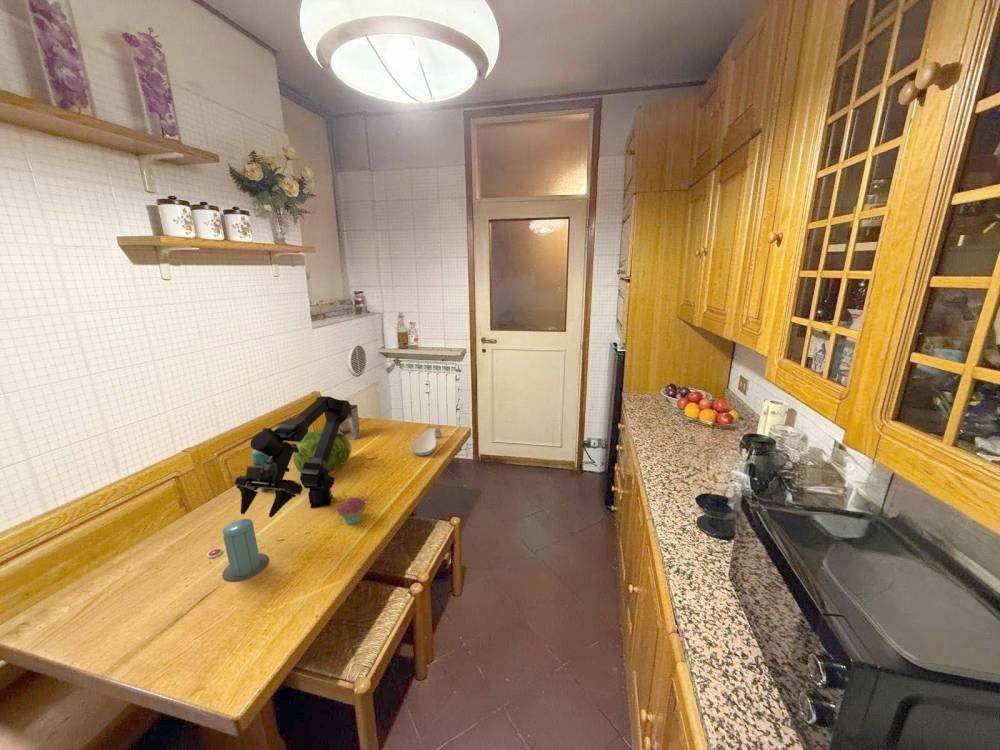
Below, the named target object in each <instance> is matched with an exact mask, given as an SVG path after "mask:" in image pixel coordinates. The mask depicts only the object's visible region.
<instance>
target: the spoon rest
mask: <svg viewBox="0 0 1000 750" xmlns="http://www.w3.org/2000/svg"><path fill="white" fill-rule="evenodd" d="M436 437H442V438H443V433H442V431H441V430H440V429H439V428H438V427H437V428H436V427H430V428H428V429H426V431H425V432H424V433H422V434H421V435H420V436H419V437H418V438H417V439H415V440H414V441H413V442H412V443H411V444H410V446H409V450H410V451H411V453H412V454H414V455H416V456H423V457H424V456H428V455H430V454H431V453H433V452H434V451H435V450H436V448H437V445H438V444H437V442H438V441H437V438H436Z"/></svg>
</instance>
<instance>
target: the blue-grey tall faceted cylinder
mask: <svg viewBox="0 0 1000 750" xmlns="http://www.w3.org/2000/svg"><path fill="white" fill-rule="evenodd" d="M222 537H223V540H224V541H223V542H224V546H225V551H226V555H227V560H228V563H229V564H228V565H230V569H231V574H232V575H234V576H243V575H246V574H249V573H252V572H253V571H255V570H256V569H257V568H258V567H259V566H260V565H261V563H260V556H259V553H260V552H259V546H258V541H257V536H256V532H255V528H254V521H252V519H249V518H243V519H238V520H235V521H233V522H231V523H229V524H227V525H226V526H224V528H223V529H222Z"/></svg>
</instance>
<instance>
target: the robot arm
mask: <svg viewBox="0 0 1000 750" xmlns="http://www.w3.org/2000/svg"><path fill="white" fill-rule="evenodd" d="M351 405H352V404H351V403H350V402H349V400H348V399H347V400H345V399H344V400H343V399H338V398H334V397H332V396H328V395H327V396H322V395H320V396H317V398H315V401H313V402H312V403H311V404H310V405H309V406H307V408H305V409H304V410H302V411H301V413H299V414H298V415H297V416H295V417H293V418H289V419H286V420H285V421H283V422H281V423H280V424H279V425H278V426H277V427H276V428H275V429H272V428H270V427H268V428H267V427H263V428H262V431H260V432H258V433H256V434H255V435H254V436H253V437H252V438H251V440H250V448H251V449H252V450H256V451H258V452H260V453H262V454H264V455H265V456H268V457H269V459H268V461H267V462H263V463H262V465H261V466H253V465H252V466H251V465H250V466H247V467H246V472H245V475H239V476H238V477H237V476H236V478H235V481H234V483H233V486H234V485H235V486H236V489H238V490H239V492H240V495H241V496H240V497H241V499H240V514H241V515H245V514H246V512H247V511H248V510H249V508H250V506H251V504H253V502H254V500H255V498H256V497H257V495H258V493H259V492H258V490H260V488H266V489H272V490H273V489H274V493H275V497H274V500H273V503H272V506H271V508H270V510H269V512H268V517H269V518H273V517H274V516H275V515H276V514H277V513H278V512H279V511H280V510H281V509H282V508H283V506H285V505H286V504H287V503H288V502H289V501H290V500H292V499H293V498H296V496H297V495H299V496H301V494H302V491H303V488H304V489H308V492H307V495H308V501H309V504H310V506H309V507H310V508H311V509H312V508H314V509H315V508H321V507H326V506H331V504H332V501H333V498H334V495H333V494H332V488H333V486H334V485H335V478H336V477H334V476H331V475H330V472H331V471H330V470H329V466H328V459H329V456H330V453H331V450H332V447H333V444H334V441H335V439H336V436H337V433H338V430H339V427H340V424H341V423H342V422H344V421H345V420H346V419H347V417H348V415H349V413H350V411H351ZM323 414H324V418H325V423H324V426H323V428H322V429H323V432H322V434H321V437H320V440H319V443H318V446H317V448H316V451H315V454H314V457H313V459H312V460H311V461H310V462H305V463H304V466H303V469H302V471H301V472H300V475H299V480H300V482H301V483H299V482H298V481H295V480H292V479H284V476H285V475H286V473H289V472H290V470H291V469H290V468H289V464H290V461H291V459H292V458H293V453H298V452H299V450H298V448H297V445H296V443H297V442H300V441H301V440H302V439H303V438H304V437H305V436H306V434H307V433H309V427H311V426H312V424H313V423H315V421H317V420H318V418H320V417H321V416H323ZM290 442H292V443H290ZM293 442H295V443H293ZM329 471H330V472H329ZM257 479H259V480H257ZM264 484H266V485H264ZM272 484H273V485H274V486H273V485H272Z"/></svg>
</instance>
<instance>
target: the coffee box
mask: <svg viewBox="0 0 1000 750" xmlns="http://www.w3.org/2000/svg"><path fill="white" fill-rule="evenodd" d="M350 405H351V411H350V413H349V415H348V417H347V419H346V420H345V421H344V422H342V423H341V424H340V427H339V430H338V432H339V433H341V434H343V435H344V436H345V437H346V438H347V439H348V440H350V439H355V440H356V439H358V438H359V437H360V436H361V428H360V421H359V419H360V418H359V410H358V409H359V408H358V404H350ZM359 435H360V436H359ZM358 436H359V437H358Z"/></svg>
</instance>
